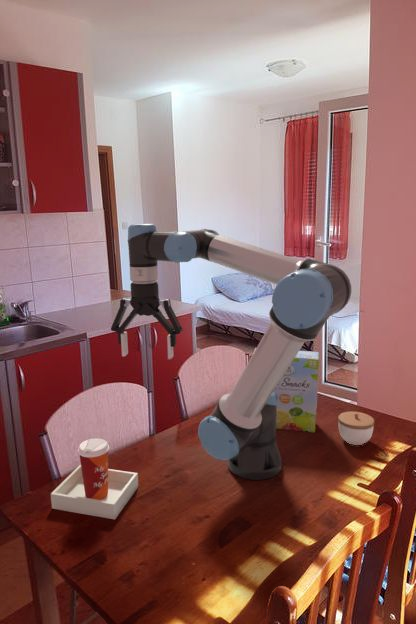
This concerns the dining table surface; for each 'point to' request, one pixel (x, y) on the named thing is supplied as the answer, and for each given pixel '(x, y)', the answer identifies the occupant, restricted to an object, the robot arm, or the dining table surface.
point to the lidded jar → (355, 427)
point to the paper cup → (94, 467)
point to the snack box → (298, 393)
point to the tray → (75, 500)
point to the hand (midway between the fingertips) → (147, 356)
